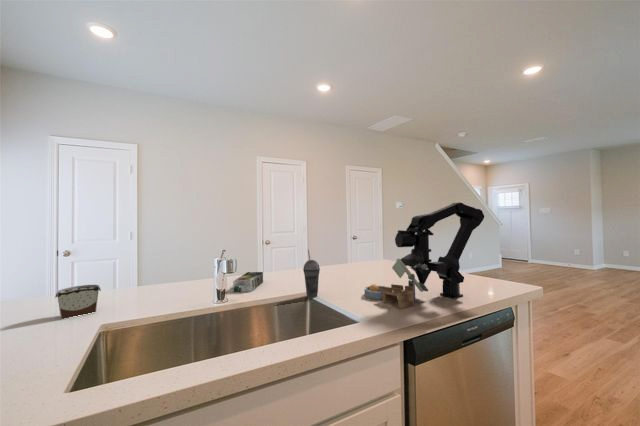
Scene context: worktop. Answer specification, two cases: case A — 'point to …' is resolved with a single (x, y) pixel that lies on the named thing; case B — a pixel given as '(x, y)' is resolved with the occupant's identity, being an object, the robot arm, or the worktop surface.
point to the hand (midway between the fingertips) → (422, 285)
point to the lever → (401, 269)
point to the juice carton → (248, 282)
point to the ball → (373, 288)
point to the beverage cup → (311, 277)
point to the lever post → (412, 283)
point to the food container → (77, 300)
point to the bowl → (373, 294)
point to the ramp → (398, 295)
